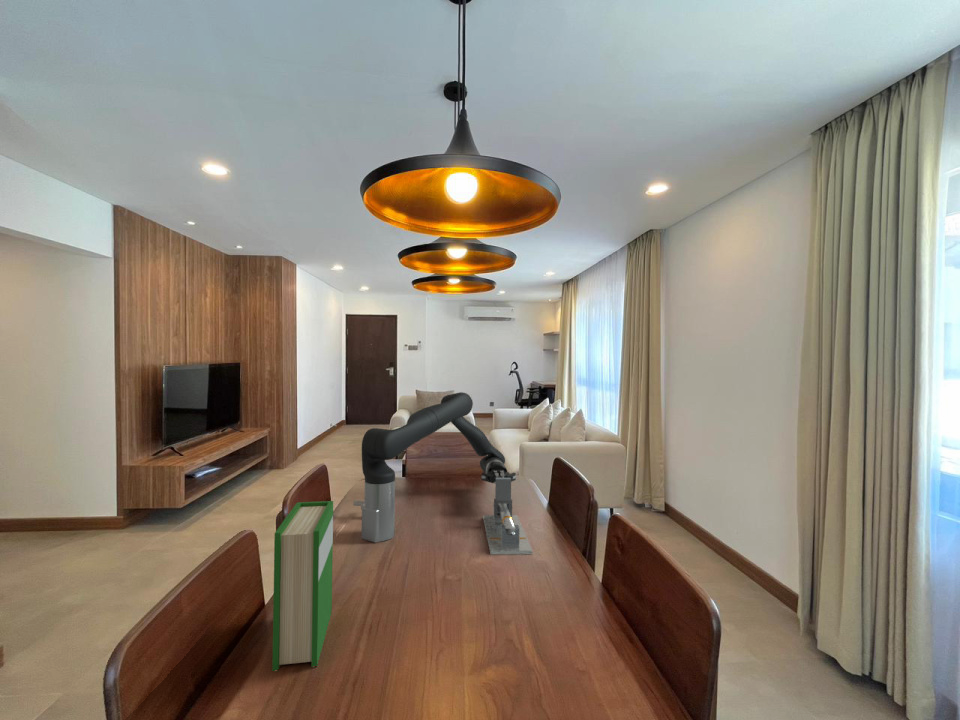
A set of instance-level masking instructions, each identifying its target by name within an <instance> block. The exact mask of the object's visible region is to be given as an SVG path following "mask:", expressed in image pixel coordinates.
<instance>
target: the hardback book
mask: <svg viewBox="0 0 960 720" xmlns="http://www.w3.org/2000/svg"><path fill="white" fill-rule="evenodd" d="M333 538H334V500H329V501H328V500H327V501H326V500H324V501H323V500H320V501H301V502H296V504H295V505H294V506H293V508H292V509H291V510H290V511H289V513H288V514H287V515H286V517H285V518H284V520H283V521H282V522H281V523H280V525H279V527H277V529H276V531H275V532H274V551H273V552H274V553H273V554H274V555H273V557H274V558H273V601H272V602H273V603H272V604H273V610H272V613H273V614H272V616H273V617H272V664H271V666H272V669H271V670H272V671H275V670H278V669H279V670H280V667H281V666H283V665H290V664H300V663H310V662H311V667H313V666H317V667H318V665H319V662H318V660H319V661H320V658H319V657H321V654H322V649H323V647H322V646H324V643H325V639H326V636H325V635H327V632H326V631H328V628H327V627H329V625H328V623H329V624H330V621H329V620H331V617H330V616H332V613H331V612H333V609H332V605H333V558H334V557H333V552H334V551H333V549H334V548H333V547H334V546H333V545H334V539H333ZM323 642H324V643H323ZM320 653H321V654H320ZM317 664H318V665H317ZM279 666H280V667H279ZM279 670H278V671H279ZM275 672H276V671H275Z"/></svg>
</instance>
